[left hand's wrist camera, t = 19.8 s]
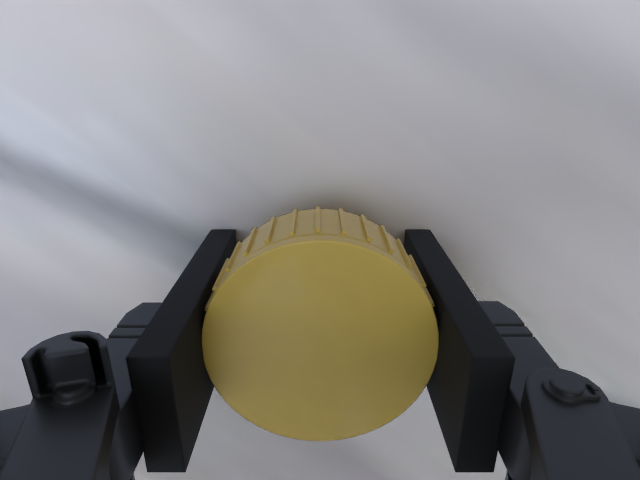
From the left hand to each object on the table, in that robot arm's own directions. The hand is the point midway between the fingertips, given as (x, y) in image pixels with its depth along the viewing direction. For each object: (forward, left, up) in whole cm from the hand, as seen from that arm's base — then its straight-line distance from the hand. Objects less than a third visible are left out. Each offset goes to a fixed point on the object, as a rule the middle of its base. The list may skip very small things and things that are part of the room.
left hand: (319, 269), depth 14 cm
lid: (0, 0, +4) cm, 4 cm away
